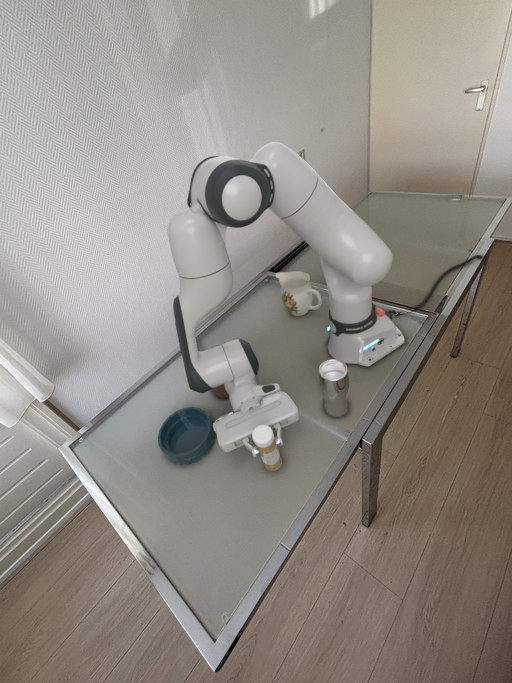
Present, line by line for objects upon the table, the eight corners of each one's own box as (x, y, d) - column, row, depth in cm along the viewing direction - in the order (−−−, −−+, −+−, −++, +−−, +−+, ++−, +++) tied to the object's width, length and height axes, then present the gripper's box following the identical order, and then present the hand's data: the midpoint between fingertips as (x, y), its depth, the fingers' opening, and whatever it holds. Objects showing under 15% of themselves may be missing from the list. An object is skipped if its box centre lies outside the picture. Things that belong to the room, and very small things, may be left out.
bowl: (209, 409, 93) (204, 399, 89) (222, 451, 82) (216, 441, 79) (162, 429, 91) (155, 419, 88) (169, 474, 80) (160, 465, 77)
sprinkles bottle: (262, 455, 78) (250, 426, 69) (281, 451, 78) (271, 421, 69) (265, 473, 75) (252, 445, 66) (284, 469, 74) (274, 440, 66)
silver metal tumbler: (350, 419, 81) (348, 381, 71) (322, 417, 83) (316, 381, 73) (349, 396, 85) (348, 358, 75) (323, 395, 87) (318, 358, 77)
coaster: (236, 371, 101) (235, 369, 101) (244, 391, 95) (244, 389, 94) (209, 382, 101) (209, 381, 100) (216, 403, 94) (215, 401, 93)
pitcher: (314, 327, 108) (310, 294, 99) (273, 312, 119) (266, 281, 110) (331, 308, 113) (328, 275, 104) (290, 296, 124) (285, 265, 115)
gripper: (207, 413, 78) (221, 463, 68) (283, 380, 80) (308, 423, 70) (215, 427, 82) (229, 476, 72) (287, 395, 84) (311, 438, 74)
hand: (268, 450), depth 71 cm, fingers closed on sprinkles bottle, 4 cm apart
